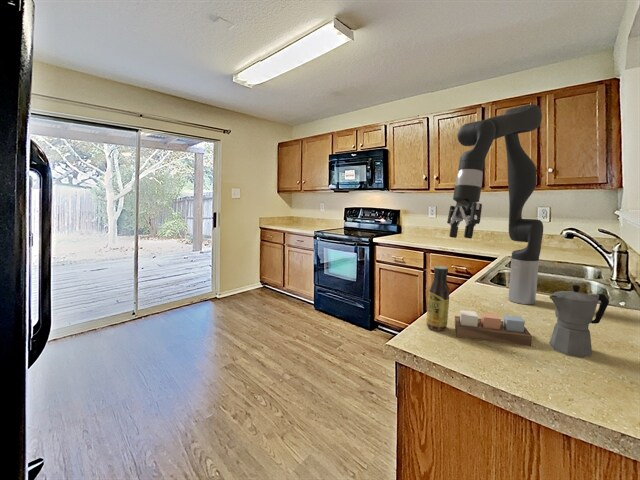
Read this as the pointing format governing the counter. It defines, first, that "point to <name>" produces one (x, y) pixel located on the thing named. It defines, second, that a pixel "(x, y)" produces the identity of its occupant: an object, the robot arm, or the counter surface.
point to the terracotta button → (490, 321)
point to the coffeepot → (575, 321)
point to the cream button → (468, 318)
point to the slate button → (513, 323)
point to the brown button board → (492, 334)
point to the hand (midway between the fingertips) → (460, 237)
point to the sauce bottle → (438, 300)
